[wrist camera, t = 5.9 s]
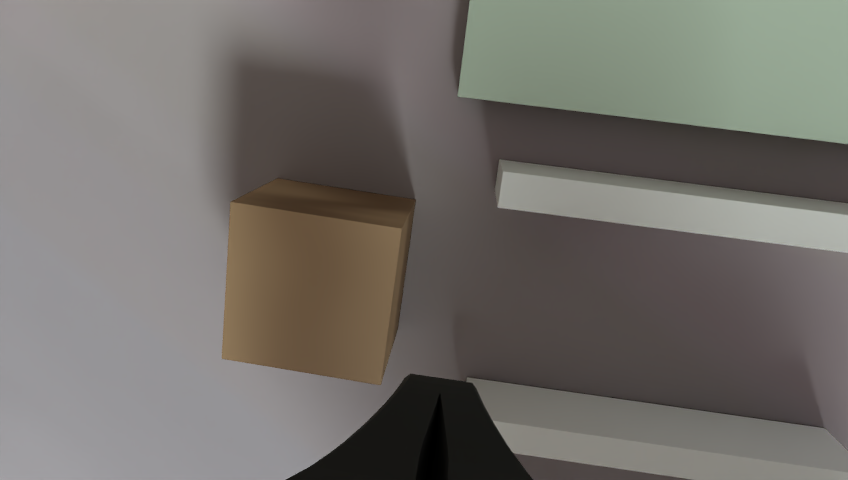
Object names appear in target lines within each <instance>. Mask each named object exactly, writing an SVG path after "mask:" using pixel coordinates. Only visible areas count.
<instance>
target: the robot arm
mask: <svg viewBox="0 0 848 480" xmlns="http://www.w3.org/2000/svg"><path fill="white" fill-rule="evenodd" d="M286 480H533V479H532V478H531V477H530V475H529V474H528V473H527V472H526V470H525V469H524V468H523V466H522V465H521V463H520V462H519V461H518V459H517V458H516V457H515V455H514V454H513V452H512V451H511V449H510V448H509V447H508V445H507V443H506V442H505V440H504V439H503V437H502V435H501V434H500V432H499V431H498V429H497V427H496V426H495V424H494V422H493V421H492V419H491V417H490V415H489V413H488V411H487V410H486V408H485V406H484V404H483V402H482V400H481V398H480V395H479V393H478V391H477V389H476V387H475V386H474V384H473V383H470V382H463V381H456V380H450V379H443V378H436V377H429V376H422V375H415V374H410V375H408V376H407V377H406V378H404V380H403V381H402V383H401V384H400V386H399V387H398V388H397V390H396V391H395V392H394V393H393V395H392V396H391V397H390V398H389V399H388V400H387V402H386V403H385V404H384V405H383V406H382V407H381V408H380V409H379V410H378V411H377V412H376V413H375V414H374V415H373V416H372V417H371V418H370V419H369V420H368V421H367V422H366V423H365V424H364V425H363V426H362V427H361V428H360V429H358V430H357V431H356V432H355V433H354V434H353V435H352V436H350V437H349V438H348V439H347V440H346V441H345V442H343V443H342V444H341V445H340V446H338V447H337V448H336V449H334V450H333V451H332V452H330V453H329V454H328V455H326V456H325V457H323V458H322V459H320V460H319V461H318V462H316V463H315V464H313V465H312V466H310V467H308V468H307V469H305V470H303V471H301V472H299V473H297V474H295V475H294V476H292V477H290V478H288V479H286Z"/></svg>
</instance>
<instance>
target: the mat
mask: <svg viewBox="0 0 848 480" xmlns="http://www.w3.org/2000/svg"><path fill="white" fill-rule="evenodd" d="M458 97H465V98H473V99H481V100H489V101H498V102H506V103H514V104H522V105H531V106H539V107H547V108H555V109H563V110H572V111H580V112H588V113H596V114H605V115H613V116H621V117H629V118H638V119H646V120H654V121H662V122H670V123H679V124H687V125H695V126H703V127H712V128H720V129H728V130H736V131H744V132H753V133H761V134H769V135H777V136H786V137H794V138H802V139H810V140H819V141H827V142H835V143H843V144H848V0H470V3H469V11H468V19H467V27H466V34H465V42H464V50H463V58H462V66H461V74H460V82H459V89H458Z"/></svg>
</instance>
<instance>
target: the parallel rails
mask: <svg viewBox="0 0 848 480" xmlns="http://www.w3.org/2000/svg"><path fill="white" fill-rule="evenodd" d="M495 196H496V201H497V206H498V208H504V209H512V210H520V211H528V212H535V213H543V214H551V215H558V216H566V217H574V218H582V219H589V220H597V221H605V222H613V223H620V224H628V225H636V226H643V227H651V228H659V229H667V230H674V231H682V232H690V233H697V234H705V235H713V236H721V237H728V238H736V239H744V240H752V241H759V242H767V243H775V244H782V245H790V246H798V247H806V248H813V249H821V250H829V251H836V252H844V253H848V203H842V202H834V201H826V200H818V199H810V198H802V197H794V196H786V195H778V194H770V193H762V192H754V191H746V190H738V189H730V188H722V187H714V186H707V185H699V184H691V183H683V182H675V181H667V180H659V179H651V178H643V177H635V176H627V175H619V174H611V173H603V172H595V171H587V170H579V169H571V168H564V167H556V166H548V165H540V164H532V163H524V162H516V161H508V160H500V159H499V165H498V171H497V178H496V185H495ZM466 382H470V383H473V384H474V386H475V387H476V389H477V391H478V393H479V395H480V398H481V400H482V402H483V404H484V406H485V408H486V410H487V411H488V413H489V415H490V417H491V419H492V421H493V422H494V424H495V426H496V427H497V429H498V431H499V432H500V434H501V435H502V437H503V439H504V440H505V442H506V443H507V445H508V447H509V448H510V449H511V451H512V452H513V453H515V454H522V455H529V456H536V457H542V458H549V459H556V460H563V461H569V462H576V463H583V464H590V465H597V466H603V467H610V468H617V469H624V470H630V471H637V472H644V473H651V474H657V475H664V476H671V477H678V478H685V479H691V480H848V451H847V450H846V449H845V448H844V447H843V446H842V445H841V444H840V443H839V442H838V441H837V440H836V439H835V438H834V437H833V436H832V435H831V434H830V433H829V432H828V431H827V430H826V429H825V428H819V427H812V426H805V425H798V424H791V423H784V422H777V421H770V420H763V419H756V418H749V417H742V416H735V415H728V414H721V413H714V412H707V411H700V410H693V409H686V408H679V407H672V406H665V405H658V404H651V403H644V402H637V401H630V400H623V399H616V398H609V397H602V396H595V395H588V394H581V393H574V392H567V391H560V390H553V389H546V388H538V387H531V386H524V385H517V384H510V383H503V382H496V381H489V380H482V379H475V378H468V377H467V379H466Z"/></svg>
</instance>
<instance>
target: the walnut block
mask: <svg viewBox="0 0 848 480" xmlns="http://www.w3.org/2000/svg"><path fill="white" fill-rule="evenodd" d="M415 202H416V200H415V199H408V198H402V197H395V196H389V195H382V194H376V193H369V192H363V191H356V190H350V189H343V188H337V187H331V186H324V185H318V184H311V183H305V182H298V181H292V180H285V179H279V178H277V179H275V180H273V181H271V182H269V183H267V184H265V185H263V186H261V187H259V188H257V189H255V190H253V191H251V192H249V193H247V194H245V195H243V196H241V197H239V198H237V199H235V200H233V201H231V203H230V221H229V239H228V257H227V274H226V292H225V310H224V328H223V346H222V359H227V360H233V361H239V362H245V363H251V364H257V365H263V366H269V367H275V368H281V369H287V370H293V371H299V372H305V373H311V374H317V375H323V376H329V377H335V378H341V379H347V380H353V381H358V382H364V383H370V384H376V385H381V382H382V379H383V376H384V373H385V369H386V366H387V363H388V359H389V356H390V353H391V349H392V346H393V343H394V340H395V336H396V333H397V330H398V324H399V316H400V309H401V302H402V295H403V288H404V281H405V273H406V266H407V259H408V252H409V245H410V238H411V230H412V223H413V216H414V209H415Z"/></svg>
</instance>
